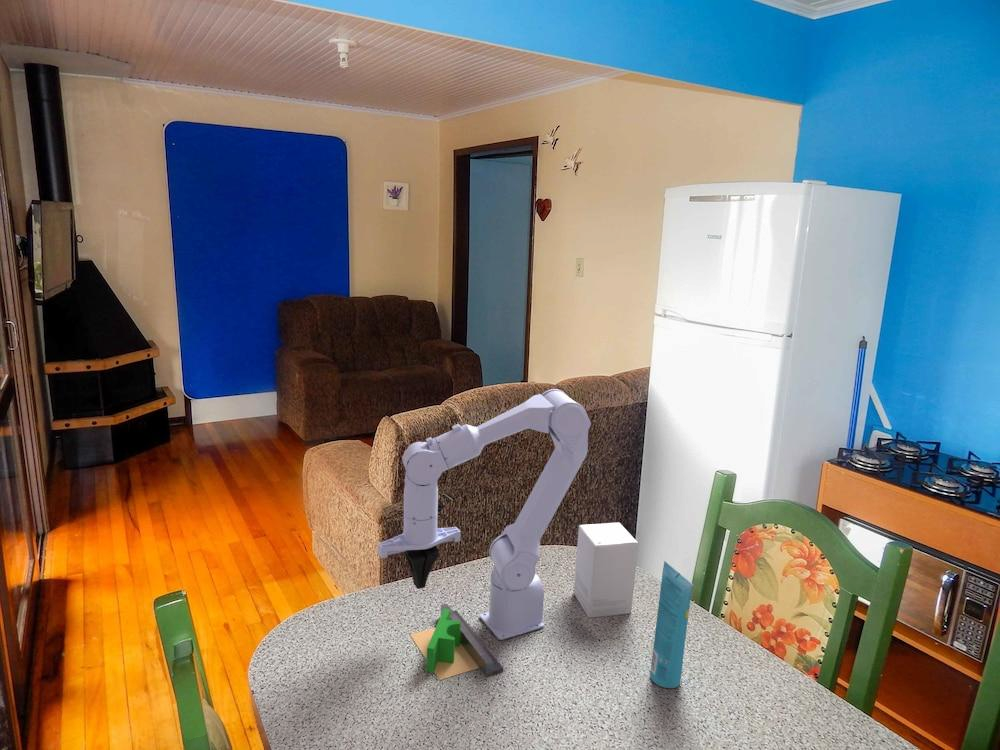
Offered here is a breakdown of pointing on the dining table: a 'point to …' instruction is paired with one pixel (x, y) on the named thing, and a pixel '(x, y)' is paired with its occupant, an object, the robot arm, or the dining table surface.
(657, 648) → the tube
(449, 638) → the pipe clamp
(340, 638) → the dining table surface
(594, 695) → the dining table surface
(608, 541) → the supplement box
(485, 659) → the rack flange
